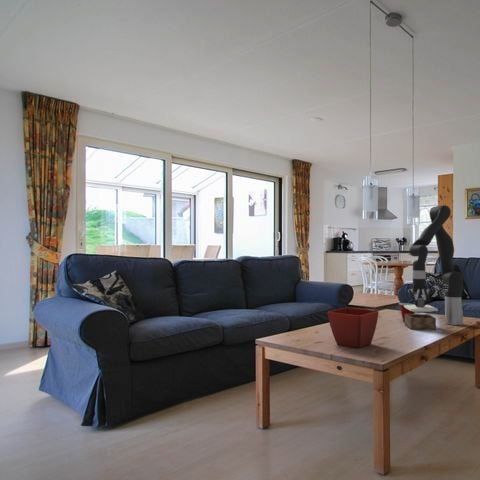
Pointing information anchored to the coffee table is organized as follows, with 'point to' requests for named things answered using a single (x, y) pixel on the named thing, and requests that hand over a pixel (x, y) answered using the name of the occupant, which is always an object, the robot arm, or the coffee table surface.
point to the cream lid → (420, 307)
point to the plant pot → (353, 326)
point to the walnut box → (420, 322)
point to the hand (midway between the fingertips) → (420, 306)
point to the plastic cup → (405, 310)
